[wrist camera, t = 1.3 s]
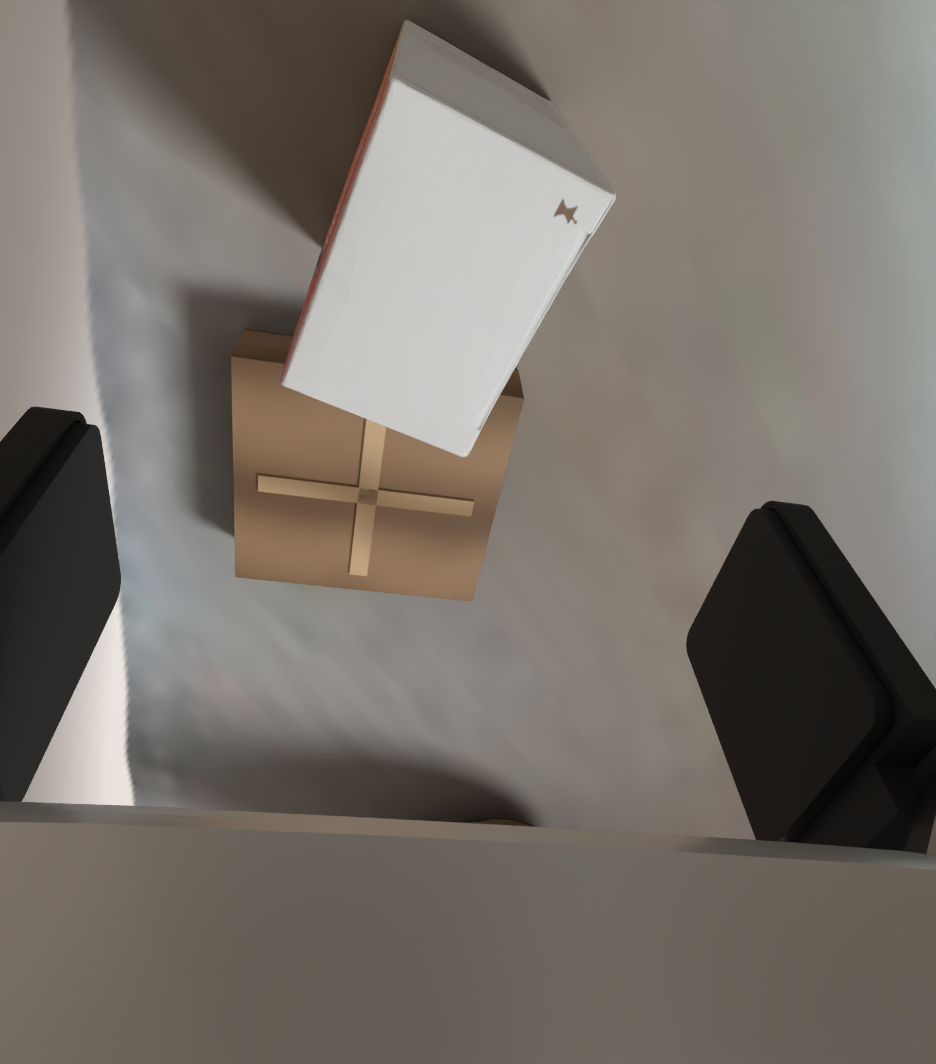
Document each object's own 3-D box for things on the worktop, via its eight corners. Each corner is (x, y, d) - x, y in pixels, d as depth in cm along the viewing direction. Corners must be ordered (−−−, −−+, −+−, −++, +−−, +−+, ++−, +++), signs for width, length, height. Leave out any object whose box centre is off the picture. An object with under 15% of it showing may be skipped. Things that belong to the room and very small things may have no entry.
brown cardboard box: (243, 328, 29) (230, 357, 27) (518, 369, 30) (524, 399, 28) (245, 543, 36) (234, 578, 34) (470, 568, 37) (472, 602, 35)
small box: (405, 14, 23) (391, 58, 15) (560, 104, 24) (626, 189, 16) (319, 252, 27) (271, 389, 19) (456, 315, 29) (466, 465, 21)
